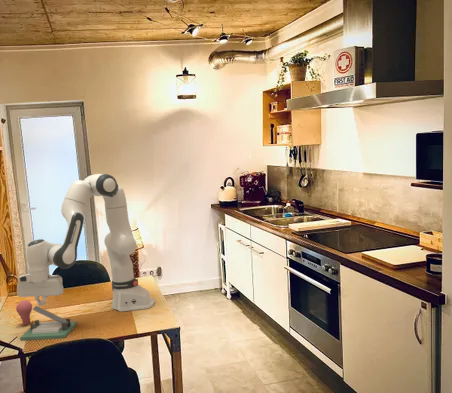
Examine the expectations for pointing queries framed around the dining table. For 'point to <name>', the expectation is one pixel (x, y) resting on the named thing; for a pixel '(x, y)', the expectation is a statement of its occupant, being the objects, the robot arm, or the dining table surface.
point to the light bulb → (24, 311)
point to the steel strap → (49, 314)
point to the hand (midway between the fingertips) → (41, 305)
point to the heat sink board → (48, 330)
